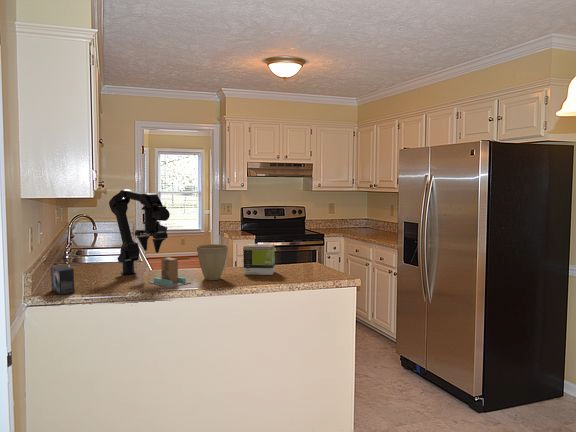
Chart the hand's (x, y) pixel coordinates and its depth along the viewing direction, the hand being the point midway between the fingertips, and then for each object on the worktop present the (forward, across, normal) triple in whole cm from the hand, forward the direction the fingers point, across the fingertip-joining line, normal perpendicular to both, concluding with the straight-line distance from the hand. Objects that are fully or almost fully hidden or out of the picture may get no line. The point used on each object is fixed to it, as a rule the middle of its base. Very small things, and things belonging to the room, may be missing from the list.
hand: (151, 251), depth 235 cm
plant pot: (+13, -23, -18) cm, 32 cm away
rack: (+13, -15, +1) cm, 20 cm away
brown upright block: (+13, -15, +1) cm, 20 cm away
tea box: (+13, -31, -43) cm, 55 cm away
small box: (+13, +6, +41) cm, 43 cm away
